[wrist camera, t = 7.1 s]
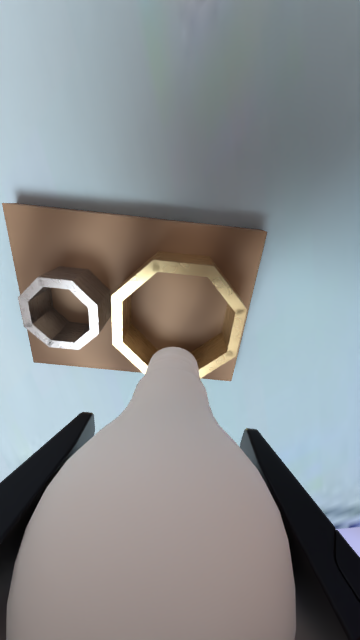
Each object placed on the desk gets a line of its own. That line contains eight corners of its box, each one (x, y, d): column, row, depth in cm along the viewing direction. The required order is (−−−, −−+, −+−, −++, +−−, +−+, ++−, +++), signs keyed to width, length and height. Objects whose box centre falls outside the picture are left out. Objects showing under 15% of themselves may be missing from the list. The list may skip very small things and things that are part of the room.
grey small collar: (109, 271, 18) (96, 282, 15) (111, 332, 20) (99, 352, 18) (39, 263, 18) (13, 274, 15) (48, 326, 20) (27, 345, 18)
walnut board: (261, 229, 18) (267, 231, 17) (228, 371, 24) (231, 381, 22) (16, 203, 18) (2, 203, 16) (42, 353, 23) (33, 362, 22)
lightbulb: (146, 411, 15) (64, 828, 5) (96, 329, 12) (-257, 820, 3) (244, 385, 14) (389, 852, 4) (210, 289, 11) (371, 881, 1)
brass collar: (245, 260, 17) (256, 270, 15) (223, 361, 21) (229, 384, 19) (122, 247, 17) (110, 255, 15) (122, 351, 21) (113, 373, 18)
